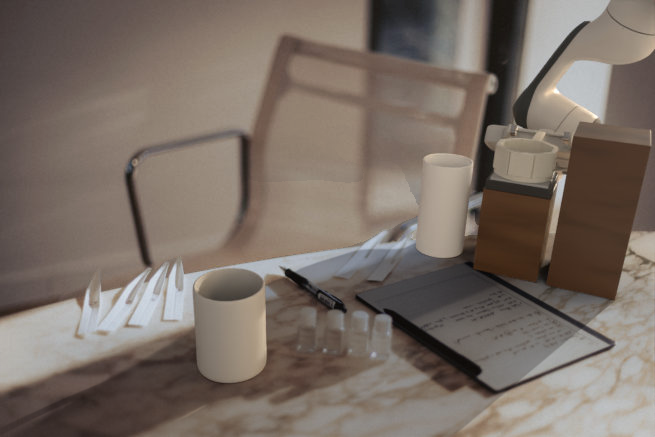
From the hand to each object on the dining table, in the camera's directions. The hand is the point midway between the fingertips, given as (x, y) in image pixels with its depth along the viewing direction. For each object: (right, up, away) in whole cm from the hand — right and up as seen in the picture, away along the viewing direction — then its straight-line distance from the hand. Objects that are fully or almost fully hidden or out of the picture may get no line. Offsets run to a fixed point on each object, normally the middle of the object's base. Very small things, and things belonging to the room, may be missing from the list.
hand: (539, 132), depth 109 cm
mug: (-50, -32, -30) cm, 67 cm away
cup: (-18, -20, 0) cm, 27 cm away
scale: (-6, -10, -10) cm, 15 cm away
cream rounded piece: (-4, -6, -6) cm, 9 cm away
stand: (-1, -24, -7) cm, 25 cm away
